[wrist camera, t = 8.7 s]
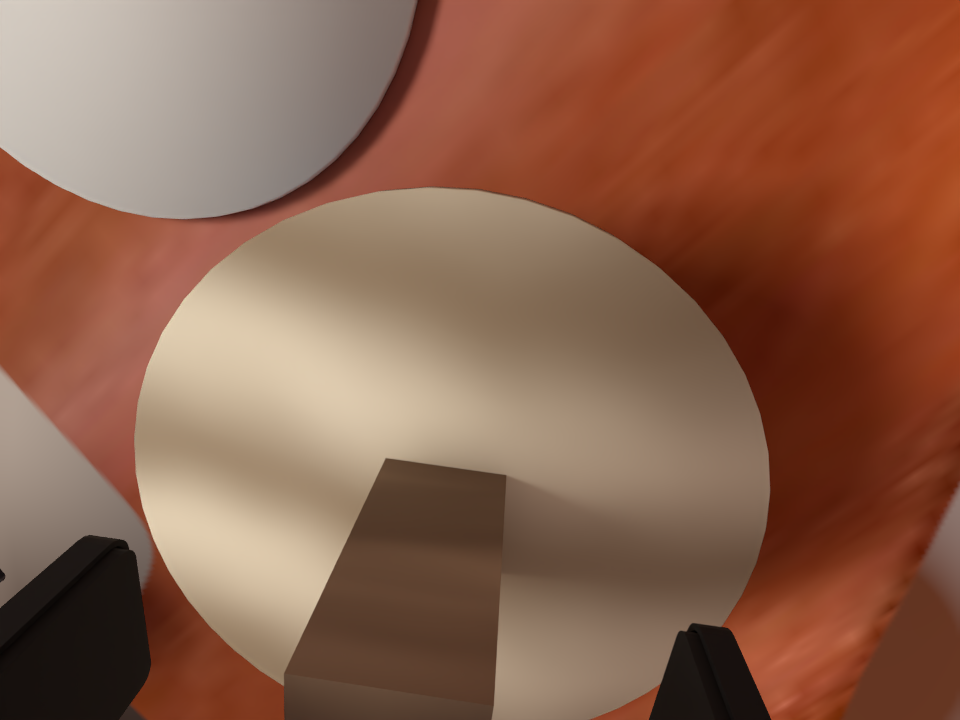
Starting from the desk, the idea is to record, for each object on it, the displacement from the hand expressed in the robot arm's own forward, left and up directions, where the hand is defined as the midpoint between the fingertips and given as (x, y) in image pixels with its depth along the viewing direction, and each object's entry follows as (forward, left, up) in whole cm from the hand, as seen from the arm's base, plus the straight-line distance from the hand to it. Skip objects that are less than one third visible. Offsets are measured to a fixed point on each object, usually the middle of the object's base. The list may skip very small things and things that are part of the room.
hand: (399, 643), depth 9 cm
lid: (+1, 0, -6) cm, 6 cm away
